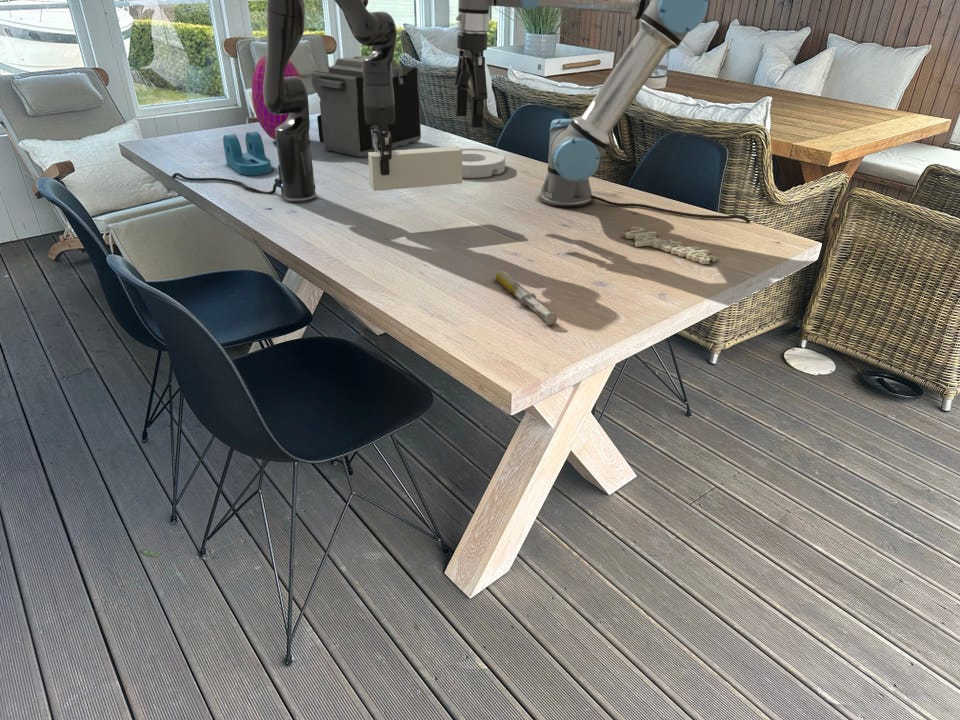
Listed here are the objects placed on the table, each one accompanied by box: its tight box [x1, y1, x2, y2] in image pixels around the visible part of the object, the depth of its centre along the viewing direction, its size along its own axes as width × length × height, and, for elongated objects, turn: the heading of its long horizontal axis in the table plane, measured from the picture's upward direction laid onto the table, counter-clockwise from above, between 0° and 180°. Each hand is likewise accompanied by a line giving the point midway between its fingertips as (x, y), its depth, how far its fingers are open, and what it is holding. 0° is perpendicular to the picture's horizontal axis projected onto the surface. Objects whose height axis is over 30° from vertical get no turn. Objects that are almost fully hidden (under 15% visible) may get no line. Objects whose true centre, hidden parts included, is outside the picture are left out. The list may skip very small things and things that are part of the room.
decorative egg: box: [251, 55, 302, 141], centre depth 257 cm, size 19×19×30 cm
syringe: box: [495, 269, 558, 326], centre depth 143 cm, size 25×4×3 cm, turn 21°
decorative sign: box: [624, 226, 717, 265], centre depth 170 cm, size 26×1×10 cm
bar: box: [367, 145, 463, 192], centre depth 180 cm, size 24×4×9 cm, turn 110°
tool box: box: [310, 55, 422, 159], centre depth 250 cm, size 37×22×30 cm, turn 144°
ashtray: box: [459, 147, 506, 179], centre depth 231 cm, size 23×23×4 cm
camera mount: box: [222, 131, 272, 176], centre depth 226 cm, size 18×10×10 cm, turn 35°
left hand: (382, 171), depth 177 cm, fingers closed on bar, 4 cm apart
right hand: (468, 121), depth 180 cm, fingers open, 13 cm apart
